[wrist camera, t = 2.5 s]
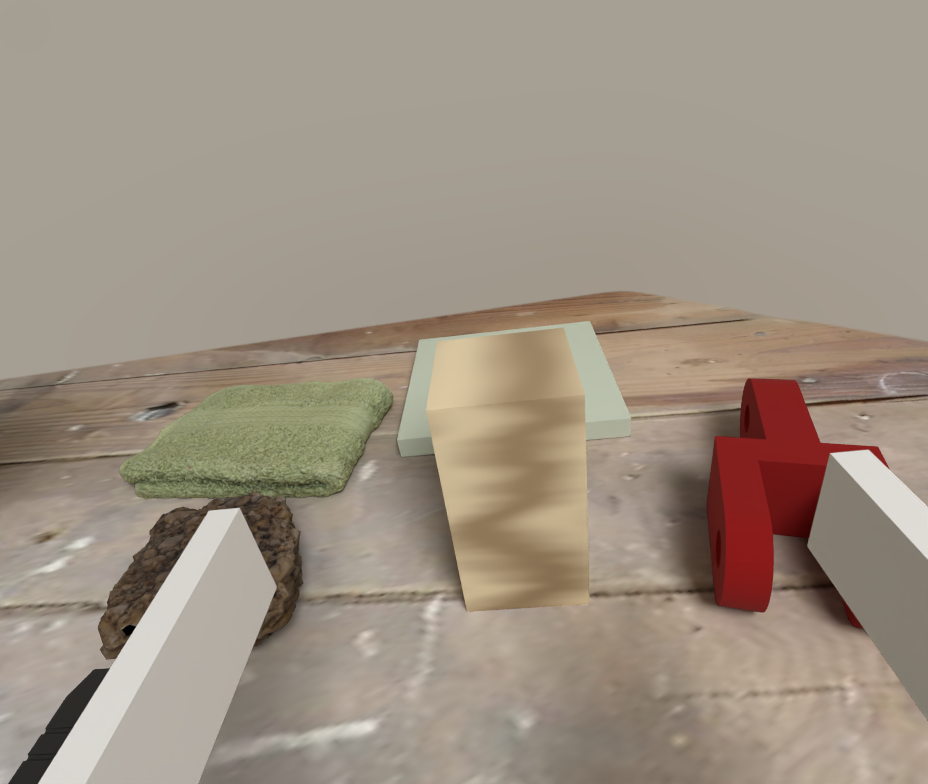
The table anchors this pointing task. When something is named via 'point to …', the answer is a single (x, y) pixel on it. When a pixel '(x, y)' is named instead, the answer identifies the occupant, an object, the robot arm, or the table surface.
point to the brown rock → (171, 539)
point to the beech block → (513, 467)
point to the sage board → (599, 385)
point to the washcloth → (263, 442)
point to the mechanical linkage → (765, 490)
